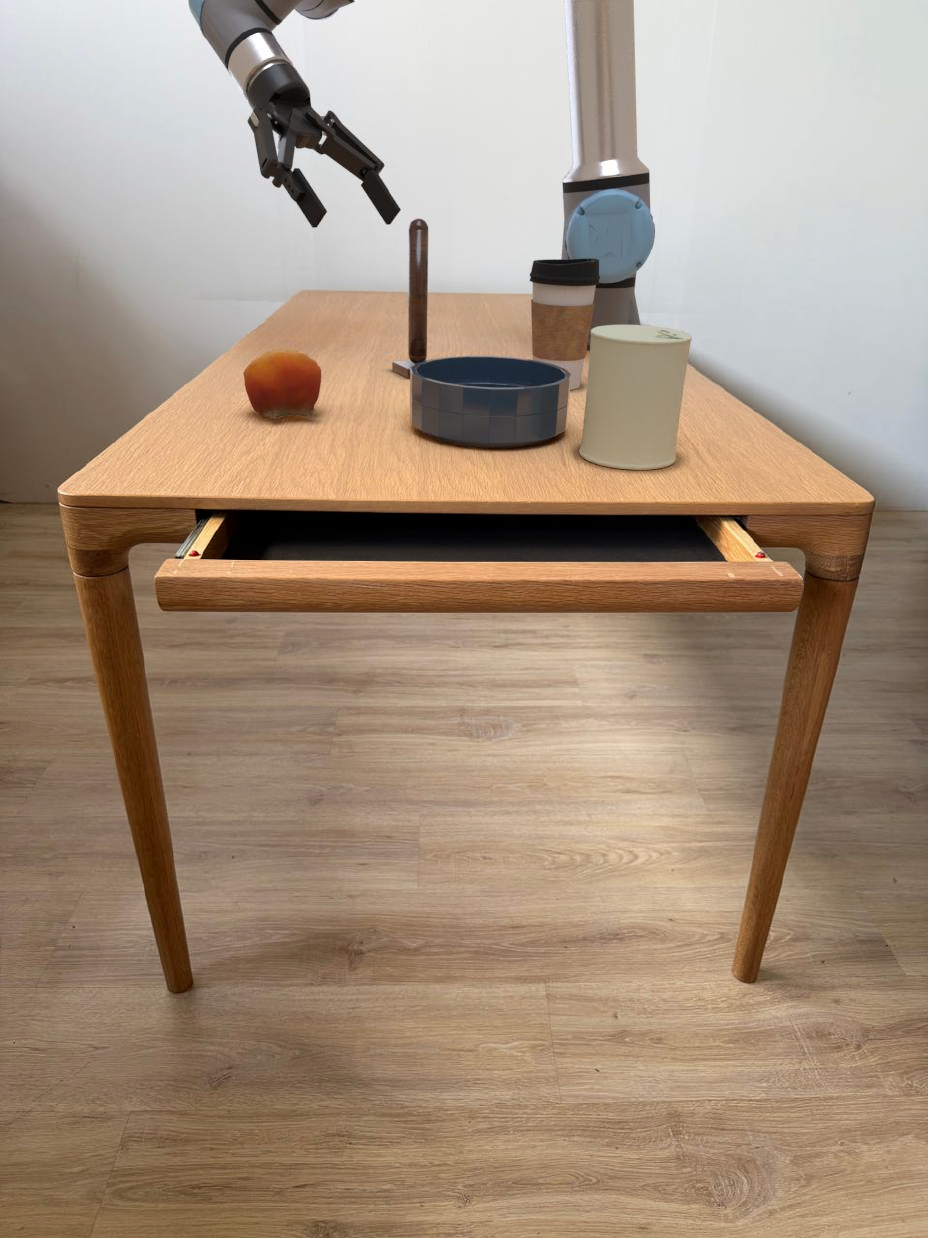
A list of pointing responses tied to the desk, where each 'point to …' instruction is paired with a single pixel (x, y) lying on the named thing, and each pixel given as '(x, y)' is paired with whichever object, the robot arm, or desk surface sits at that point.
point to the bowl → (489, 400)
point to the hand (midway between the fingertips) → (358, 218)
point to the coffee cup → (563, 312)
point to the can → (634, 396)
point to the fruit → (283, 383)
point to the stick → (416, 298)
